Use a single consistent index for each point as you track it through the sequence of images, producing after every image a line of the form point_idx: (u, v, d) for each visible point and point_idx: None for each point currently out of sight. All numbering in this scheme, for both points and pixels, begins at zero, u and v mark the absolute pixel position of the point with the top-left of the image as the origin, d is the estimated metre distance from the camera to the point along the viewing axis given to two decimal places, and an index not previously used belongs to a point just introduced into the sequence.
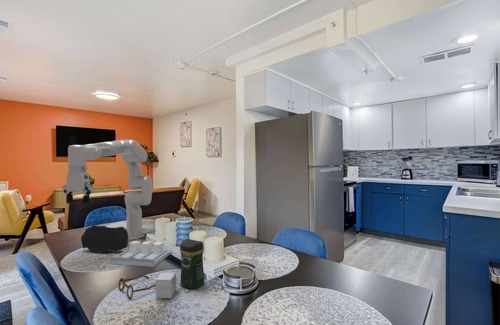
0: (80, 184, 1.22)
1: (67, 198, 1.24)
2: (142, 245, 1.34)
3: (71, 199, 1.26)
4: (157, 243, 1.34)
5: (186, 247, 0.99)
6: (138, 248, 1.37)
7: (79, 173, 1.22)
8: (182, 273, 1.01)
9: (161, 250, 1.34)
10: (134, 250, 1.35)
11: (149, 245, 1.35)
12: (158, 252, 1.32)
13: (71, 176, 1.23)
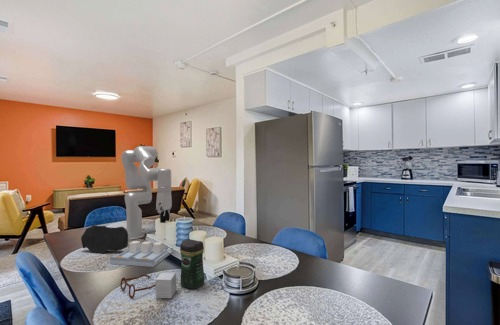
0: (171, 201, 1.45)
1: None
2: (142, 245, 1.34)
3: None
4: (157, 243, 1.34)
5: (186, 247, 0.99)
6: (138, 248, 1.37)
7: (170, 192, 1.45)
8: (182, 273, 1.01)
9: (161, 250, 1.34)
10: (134, 250, 1.35)
11: (149, 245, 1.35)
12: (158, 252, 1.32)
13: (167, 196, 1.40)
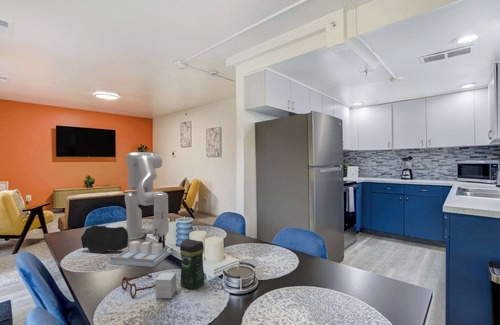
0: (168, 226, 1.41)
1: None
2: (142, 245, 1.34)
3: None
4: (156, 244, 1.33)
5: (186, 247, 0.99)
6: (138, 248, 1.37)
7: (167, 217, 1.41)
8: (182, 273, 1.01)
9: (160, 251, 1.33)
10: (134, 250, 1.35)
11: (149, 245, 1.35)
12: (157, 253, 1.31)
13: (164, 221, 1.36)
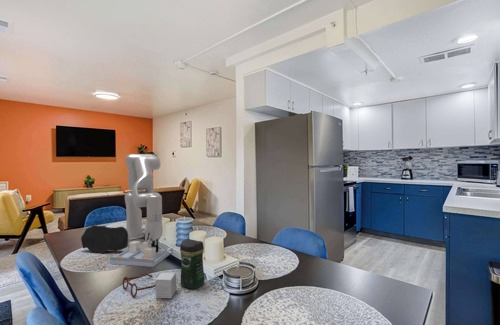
0: (162, 229, 1.34)
1: None
2: (142, 245, 1.34)
3: None
4: (149, 248, 1.26)
5: (186, 247, 0.99)
6: (138, 248, 1.37)
7: (161, 220, 1.34)
8: (182, 273, 1.01)
9: (153, 255, 1.26)
10: (134, 250, 1.35)
11: (149, 245, 1.35)
12: (150, 258, 1.25)
13: (157, 224, 1.30)
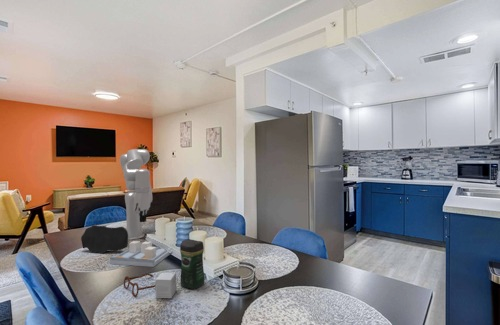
0: (149, 202, 1.47)
1: (144, 217, 1.43)
2: (142, 245, 1.34)
3: None
4: (149, 248, 1.27)
5: (186, 247, 0.99)
6: (138, 248, 1.37)
7: (149, 193, 1.47)
8: (182, 273, 1.01)
9: (153, 255, 1.27)
10: (134, 250, 1.35)
11: (149, 245, 1.35)
12: (150, 257, 1.25)
13: (145, 196, 1.43)
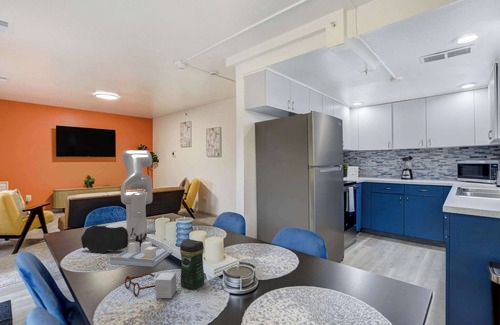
0: (146, 225, 1.44)
1: (140, 242, 1.40)
2: (142, 245, 1.34)
3: None
4: (149, 248, 1.27)
5: (186, 247, 0.99)
6: (137, 249, 1.36)
7: (145, 216, 1.43)
8: (182, 273, 1.01)
9: (153, 255, 1.27)
10: (133, 251, 1.34)
11: (149, 245, 1.35)
12: (150, 257, 1.25)
13: (141, 220, 1.39)
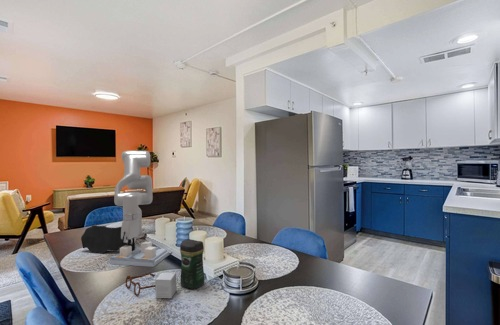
0: (138, 228, 1.37)
1: (133, 246, 1.33)
2: (142, 245, 1.34)
3: None
4: (149, 248, 1.27)
5: (186, 247, 0.99)
6: (129, 253, 1.29)
7: (138, 219, 1.36)
8: (182, 273, 1.01)
9: (153, 255, 1.27)
10: (125, 255, 1.27)
11: (149, 245, 1.35)
12: (150, 257, 1.25)
13: (133, 223, 1.32)
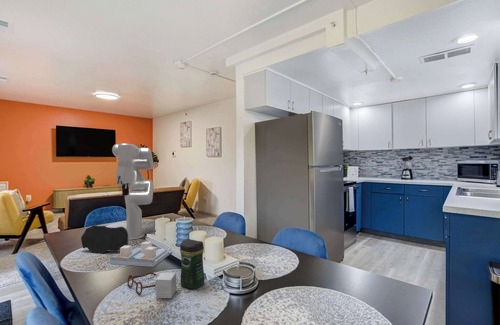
0: (132, 176, 1.49)
1: (127, 191, 1.45)
2: (142, 245, 1.34)
3: None
4: (149, 248, 1.27)
5: (186, 247, 0.99)
6: (129, 253, 1.29)
7: (131, 167, 1.49)
8: (182, 273, 1.01)
9: (153, 255, 1.27)
10: (125, 255, 1.27)
11: (149, 245, 1.35)
12: (150, 257, 1.25)
13: (127, 170, 1.44)
